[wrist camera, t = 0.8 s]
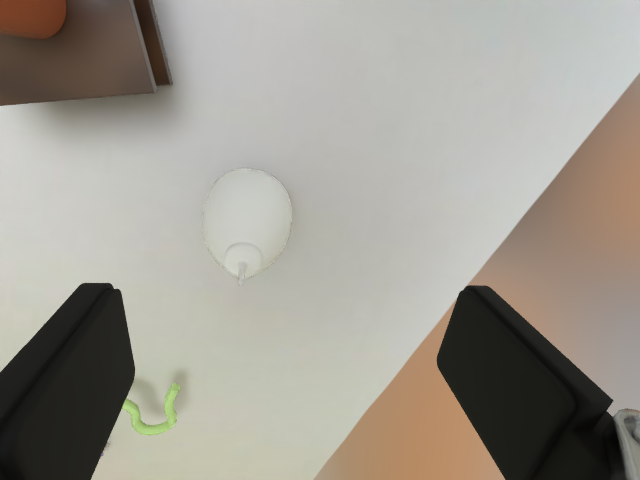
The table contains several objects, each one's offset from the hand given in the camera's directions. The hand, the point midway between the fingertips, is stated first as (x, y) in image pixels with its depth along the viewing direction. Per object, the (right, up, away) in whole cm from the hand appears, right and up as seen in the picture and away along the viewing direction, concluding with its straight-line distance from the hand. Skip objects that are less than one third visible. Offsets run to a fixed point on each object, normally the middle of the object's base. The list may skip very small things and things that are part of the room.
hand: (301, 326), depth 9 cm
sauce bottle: (-7, +8, +26) cm, 28 cm away
